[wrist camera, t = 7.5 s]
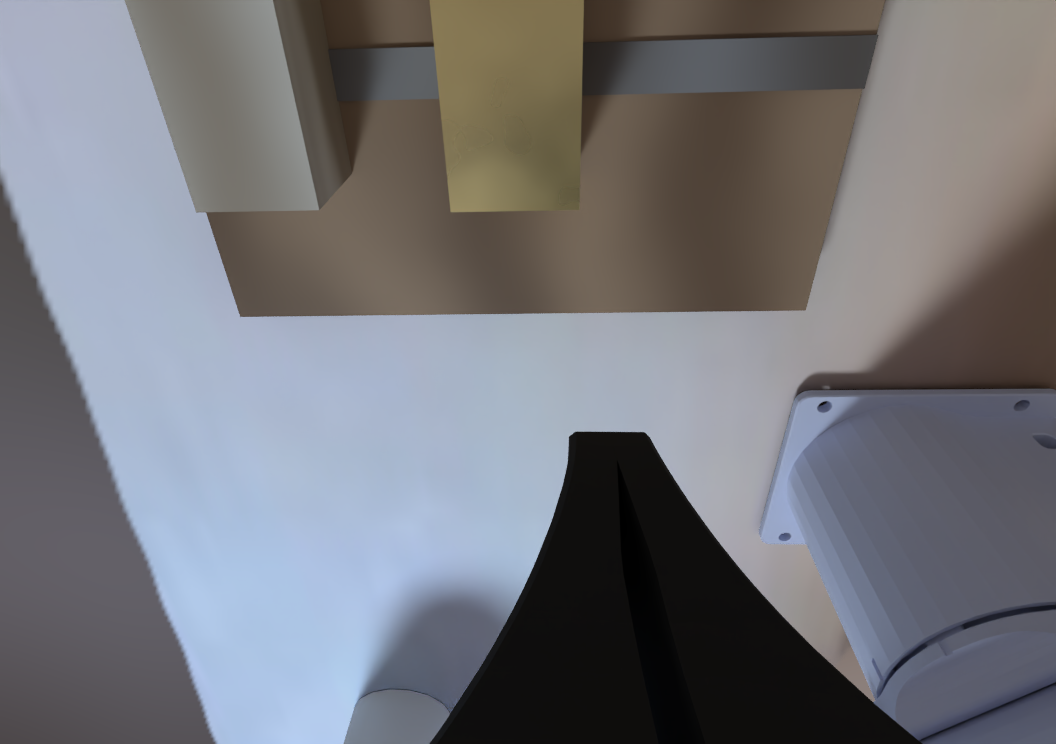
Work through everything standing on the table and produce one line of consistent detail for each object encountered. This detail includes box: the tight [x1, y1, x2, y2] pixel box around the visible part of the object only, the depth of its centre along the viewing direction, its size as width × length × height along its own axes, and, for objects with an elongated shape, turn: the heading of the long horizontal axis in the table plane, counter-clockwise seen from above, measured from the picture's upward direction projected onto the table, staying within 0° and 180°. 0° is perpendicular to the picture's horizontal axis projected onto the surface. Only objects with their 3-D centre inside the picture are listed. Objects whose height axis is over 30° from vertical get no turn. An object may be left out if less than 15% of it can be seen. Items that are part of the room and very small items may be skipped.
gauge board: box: [125, 0, 885, 317], centre depth 15 cm, size 18×14×4 cm
